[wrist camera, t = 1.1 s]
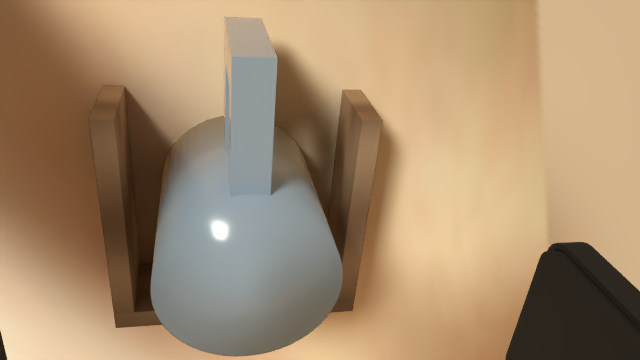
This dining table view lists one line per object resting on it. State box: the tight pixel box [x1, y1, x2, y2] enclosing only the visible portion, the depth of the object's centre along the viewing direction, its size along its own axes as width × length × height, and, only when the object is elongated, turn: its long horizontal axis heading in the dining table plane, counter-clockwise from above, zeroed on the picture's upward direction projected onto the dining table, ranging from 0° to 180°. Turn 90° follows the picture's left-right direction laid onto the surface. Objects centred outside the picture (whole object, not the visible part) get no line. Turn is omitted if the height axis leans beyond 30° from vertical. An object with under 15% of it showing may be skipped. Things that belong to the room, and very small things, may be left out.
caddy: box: [89, 86, 383, 328], centre depth 29 cm, size 12×13×4 cm
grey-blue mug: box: [151, 17, 343, 356], centre depth 25 cm, size 14×8×9 cm, turn 175°
